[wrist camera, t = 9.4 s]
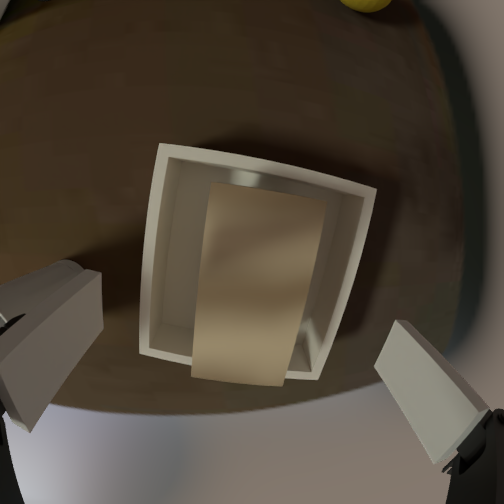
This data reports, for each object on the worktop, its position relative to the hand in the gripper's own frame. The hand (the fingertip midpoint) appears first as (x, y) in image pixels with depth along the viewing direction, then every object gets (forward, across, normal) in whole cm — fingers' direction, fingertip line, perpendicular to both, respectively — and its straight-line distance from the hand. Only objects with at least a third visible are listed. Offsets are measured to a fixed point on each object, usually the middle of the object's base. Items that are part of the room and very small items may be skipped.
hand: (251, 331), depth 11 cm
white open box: (+12, 0, -1) cm, 12 cm away
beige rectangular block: (+9, 0, -1) cm, 9 cm away
